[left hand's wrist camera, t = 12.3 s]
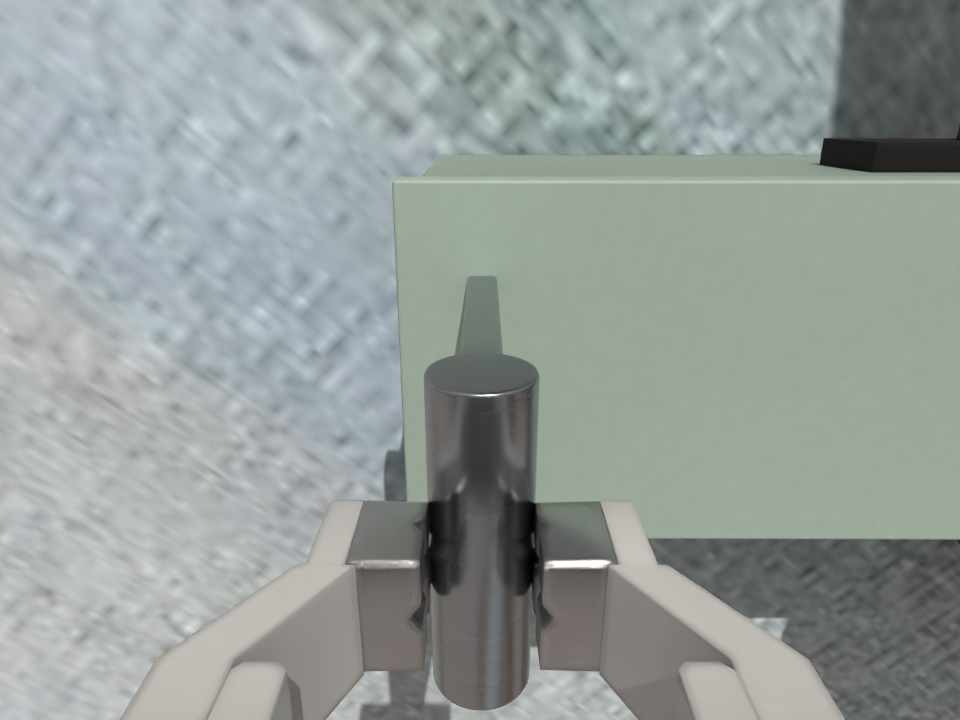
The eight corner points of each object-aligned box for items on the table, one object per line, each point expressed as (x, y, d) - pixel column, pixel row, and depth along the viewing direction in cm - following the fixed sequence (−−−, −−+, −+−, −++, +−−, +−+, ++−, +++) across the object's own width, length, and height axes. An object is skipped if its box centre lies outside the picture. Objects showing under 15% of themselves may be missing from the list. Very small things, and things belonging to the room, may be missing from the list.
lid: (411, 520, 19) (362, 800, 11) (396, 176, 16) (311, 238, 8) (947, 522, 19) (1268, 803, 11) (1050, 177, 16) (1612, 239, 8)
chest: (446, 397, 27) (431, 519, 19) (442, 154, 24) (421, 176, 16) (807, 398, 27) (946, 521, 19) (854, 154, 24) (1048, 176, 16)
